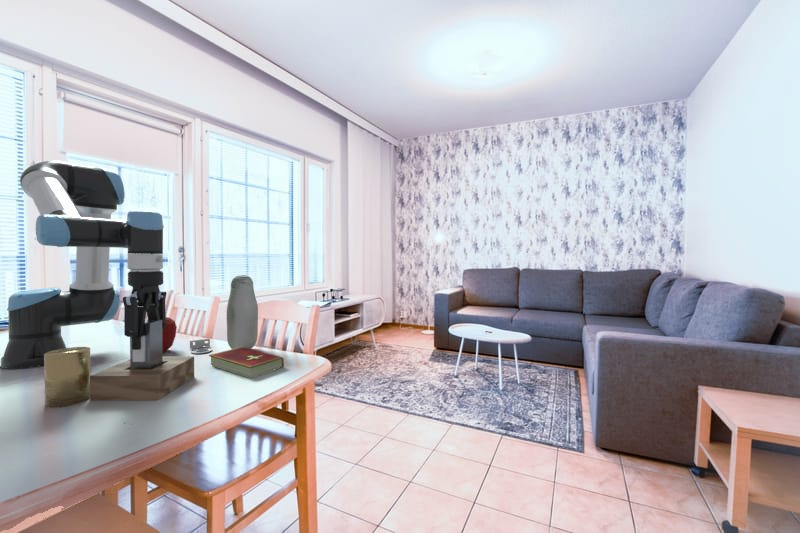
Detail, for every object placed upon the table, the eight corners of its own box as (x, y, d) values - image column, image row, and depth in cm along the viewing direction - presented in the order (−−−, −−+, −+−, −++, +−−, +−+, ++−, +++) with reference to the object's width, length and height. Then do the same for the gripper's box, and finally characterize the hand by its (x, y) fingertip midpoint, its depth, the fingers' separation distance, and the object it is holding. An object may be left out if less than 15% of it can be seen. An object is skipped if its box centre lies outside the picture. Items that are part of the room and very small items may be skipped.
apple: (157, 347, 131) (156, 312, 131) (185, 348, 130) (184, 313, 129) (128, 356, 119) (127, 317, 119) (158, 358, 118) (158, 319, 117)
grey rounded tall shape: (235, 347, 133) (235, 274, 132) (261, 347, 133) (262, 274, 132) (221, 354, 123) (221, 275, 122) (249, 355, 123) (250, 276, 122)
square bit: (143, 370, 95) (143, 319, 94) (162, 370, 95) (162, 319, 94) (130, 376, 90) (129, 323, 89) (150, 376, 90) (149, 323, 89)
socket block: (137, 376, 100) (137, 356, 100) (194, 376, 101) (194, 356, 100) (90, 400, 84) (89, 375, 84) (158, 400, 85) (158, 375, 85)
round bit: (66, 393, 88) (65, 346, 87) (99, 393, 88) (98, 346, 87) (34, 407, 80) (33, 356, 79) (71, 407, 80) (70, 356, 80)
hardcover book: (243, 357, 121) (243, 345, 121) (283, 369, 110) (283, 355, 110) (209, 367, 111) (209, 354, 111) (250, 380, 100) (250, 366, 100)
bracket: (192, 356, 121) (192, 346, 121) (189, 350, 130) (189, 340, 129) (213, 353, 125) (213, 344, 125) (209, 347, 133) (209, 338, 133)
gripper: (136, 272, 82) (137, 369, 83) (180, 269, 100) (181, 348, 101) (103, 271, 82) (104, 369, 83) (153, 268, 100) (154, 348, 101)
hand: (146, 357), depth 92 cm, fingers closed on square bit, 5 cm apart
